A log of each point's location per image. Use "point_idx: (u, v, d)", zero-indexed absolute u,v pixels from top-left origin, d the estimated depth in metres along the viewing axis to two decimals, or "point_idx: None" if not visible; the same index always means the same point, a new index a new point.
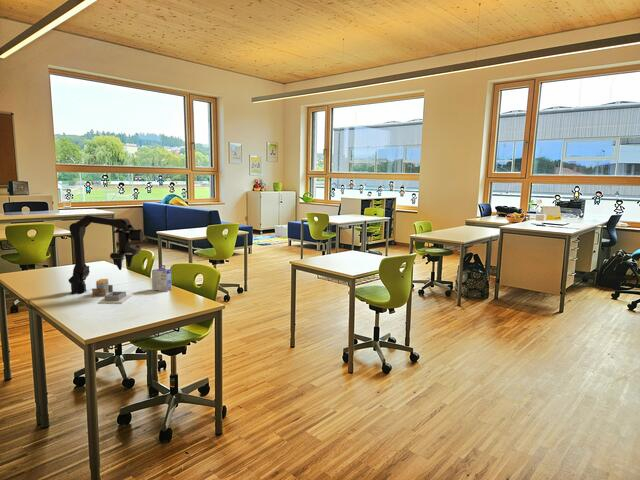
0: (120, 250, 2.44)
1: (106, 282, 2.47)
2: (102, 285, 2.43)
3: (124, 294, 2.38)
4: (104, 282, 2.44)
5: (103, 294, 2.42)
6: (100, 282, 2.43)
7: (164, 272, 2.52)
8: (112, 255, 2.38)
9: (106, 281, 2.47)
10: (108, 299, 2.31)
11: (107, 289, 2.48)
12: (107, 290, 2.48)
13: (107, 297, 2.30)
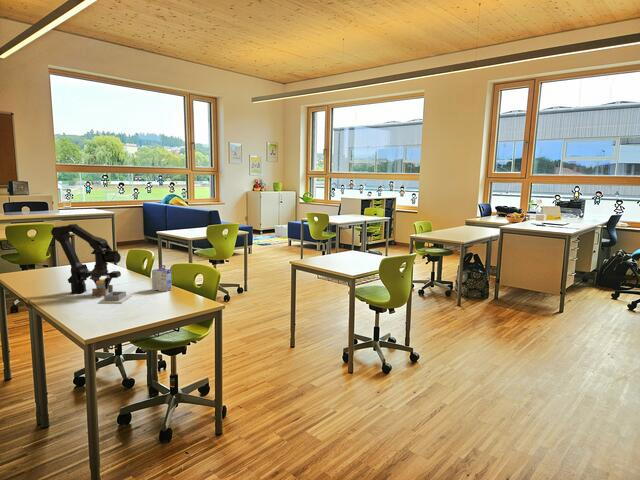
0: None
1: None
2: (102, 285, 2.43)
3: (124, 294, 2.38)
4: (104, 282, 2.44)
5: (103, 294, 2.42)
6: (100, 282, 2.43)
7: (164, 272, 2.52)
8: None
9: None
10: (108, 299, 2.31)
11: (107, 289, 2.48)
12: (107, 290, 2.48)
13: (107, 297, 2.30)
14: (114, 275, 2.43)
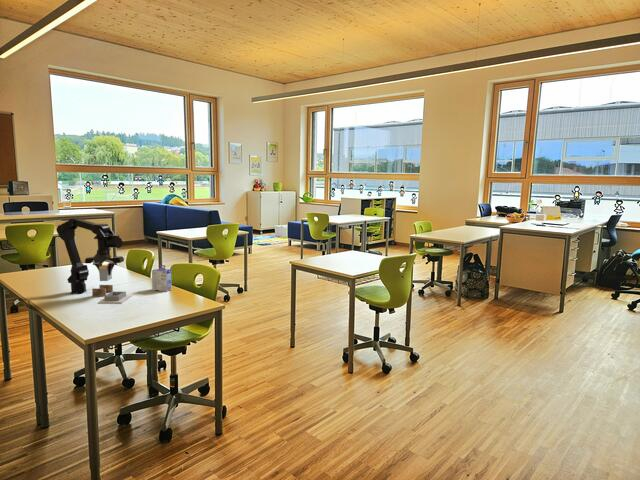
0: None
1: None
2: (105, 270, 2.39)
3: (124, 294, 2.38)
4: (107, 267, 2.40)
5: (103, 294, 2.42)
6: (103, 267, 2.39)
7: (164, 272, 2.52)
8: None
9: None
10: (108, 299, 2.31)
11: None
12: (110, 276, 2.44)
13: (107, 297, 2.30)
14: (117, 260, 2.39)
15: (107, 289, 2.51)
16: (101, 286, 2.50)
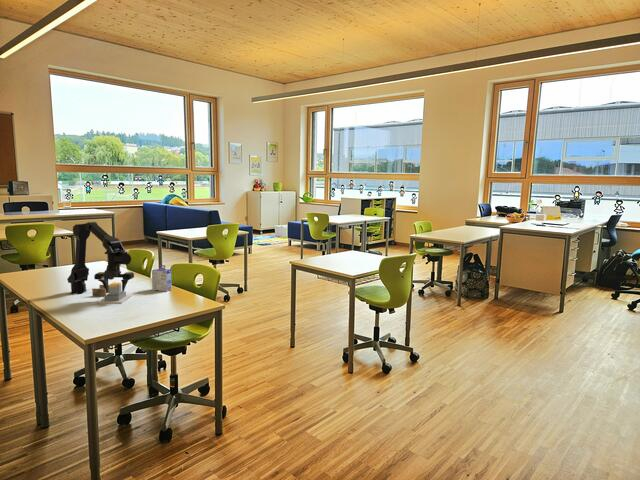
0: None
1: (119, 286, 2.35)
2: (115, 289, 2.32)
3: (124, 294, 2.38)
4: (117, 286, 2.33)
5: (103, 294, 2.42)
6: (113, 286, 2.31)
7: (164, 272, 2.52)
8: None
9: (119, 285, 2.35)
10: (108, 299, 2.31)
11: (120, 293, 2.37)
12: None
13: (107, 297, 2.30)
14: (127, 276, 2.31)
15: None
16: (101, 286, 2.50)
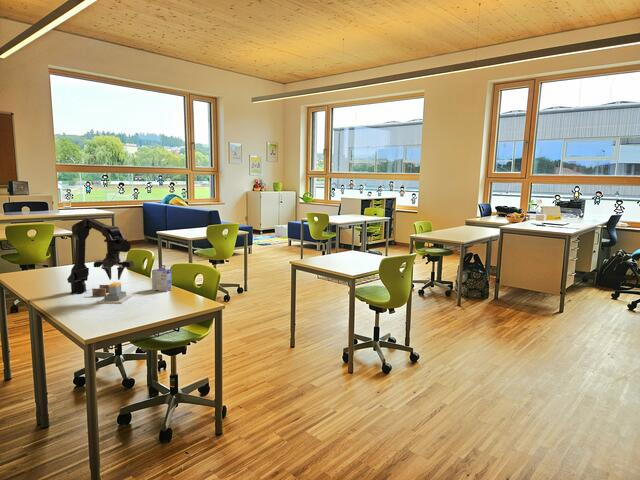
0: None
1: (119, 286, 2.35)
2: (115, 289, 2.32)
3: (124, 294, 2.38)
4: (117, 286, 2.33)
5: (103, 294, 2.42)
6: (113, 286, 2.31)
7: (164, 272, 2.52)
8: None
9: (119, 285, 2.35)
10: (108, 299, 2.31)
11: (120, 293, 2.37)
12: None
13: (107, 297, 2.30)
14: (127, 264, 2.30)
15: (107, 289, 2.51)
16: (101, 286, 2.50)
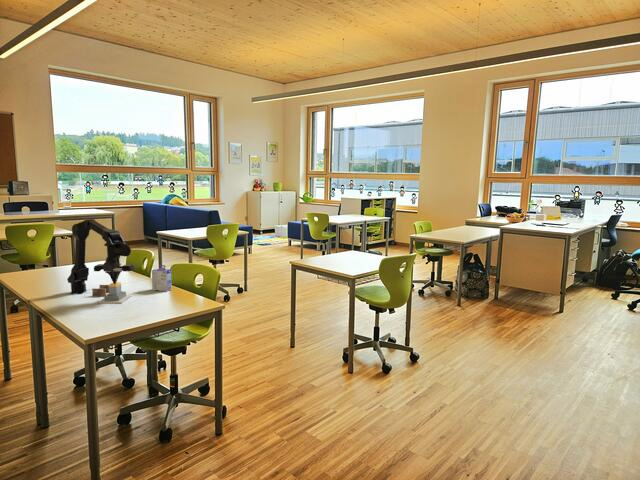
0: None
1: (119, 286, 2.35)
2: (115, 289, 2.32)
3: (124, 294, 2.38)
4: (117, 286, 2.33)
5: (103, 294, 2.42)
6: (113, 286, 2.31)
7: (164, 272, 2.52)
8: None
9: (119, 285, 2.35)
10: (108, 299, 2.31)
11: (120, 293, 2.37)
12: None
13: (107, 297, 2.30)
14: (127, 268, 2.30)
15: (107, 289, 2.51)
16: (101, 286, 2.50)
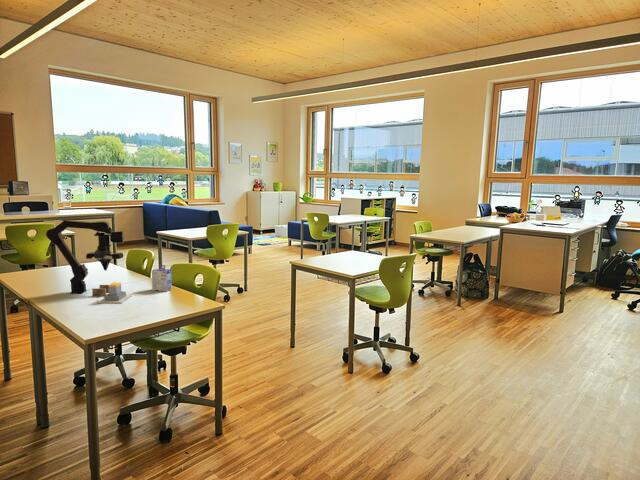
0: None
1: (119, 286, 2.35)
2: (115, 289, 2.32)
3: (124, 294, 2.38)
4: (117, 286, 2.33)
5: (103, 294, 2.42)
6: (113, 286, 2.31)
7: (164, 272, 2.52)
8: None
9: (119, 285, 2.35)
10: (108, 299, 2.31)
11: (120, 293, 2.37)
12: None
13: (107, 297, 2.30)
14: (117, 256, 2.48)
15: (107, 289, 2.51)
16: (101, 286, 2.50)
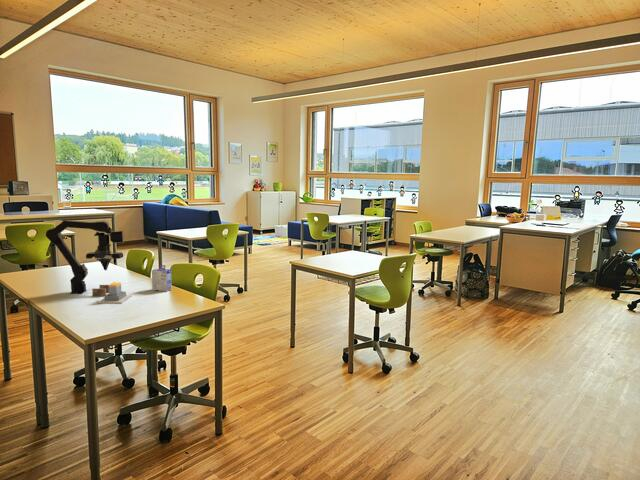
0: None
1: (119, 286, 2.35)
2: (115, 289, 2.32)
3: (124, 294, 2.38)
4: (117, 286, 2.33)
5: (103, 294, 2.42)
6: (113, 286, 2.31)
7: (164, 272, 2.52)
8: None
9: (119, 285, 2.35)
10: (108, 299, 2.31)
11: (120, 293, 2.37)
12: None
13: (107, 297, 2.30)
14: (117, 256, 2.48)
15: (107, 289, 2.51)
16: (101, 286, 2.50)
